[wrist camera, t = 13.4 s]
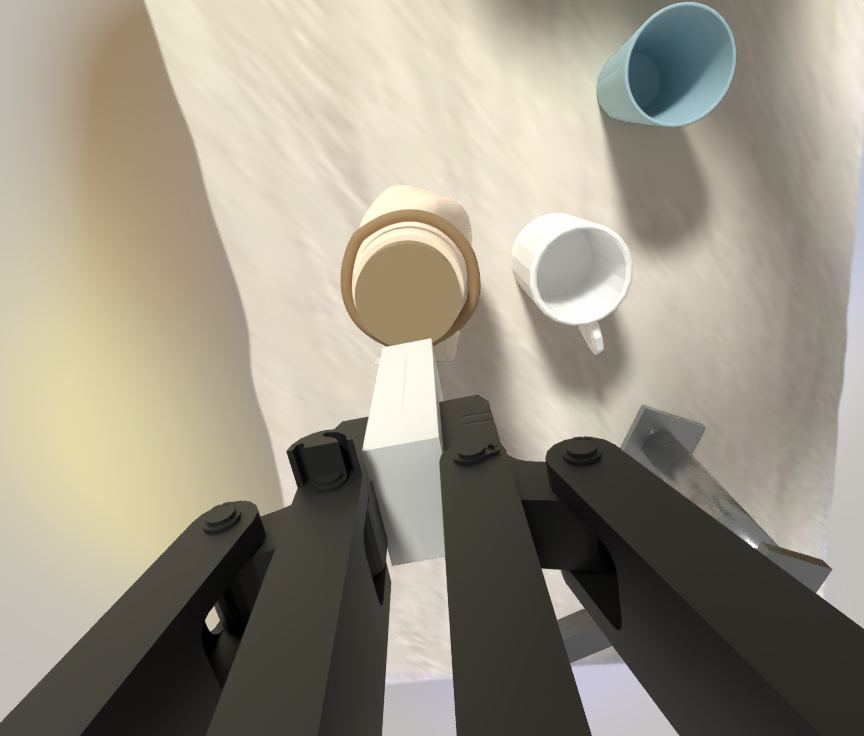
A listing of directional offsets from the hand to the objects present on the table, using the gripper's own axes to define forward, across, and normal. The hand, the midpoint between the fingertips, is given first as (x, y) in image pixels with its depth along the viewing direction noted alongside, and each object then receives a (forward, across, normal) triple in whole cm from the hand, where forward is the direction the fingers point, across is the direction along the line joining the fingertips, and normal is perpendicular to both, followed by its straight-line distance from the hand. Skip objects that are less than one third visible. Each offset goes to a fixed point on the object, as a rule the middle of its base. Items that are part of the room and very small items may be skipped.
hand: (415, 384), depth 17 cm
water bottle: (+38, 0, 0) cm, 38 cm away
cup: (+38, +20, +9) cm, 44 cm away
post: (+37, +21, -26) cm, 50 cm away
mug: (+38, +13, -6) cm, 40 cm away
